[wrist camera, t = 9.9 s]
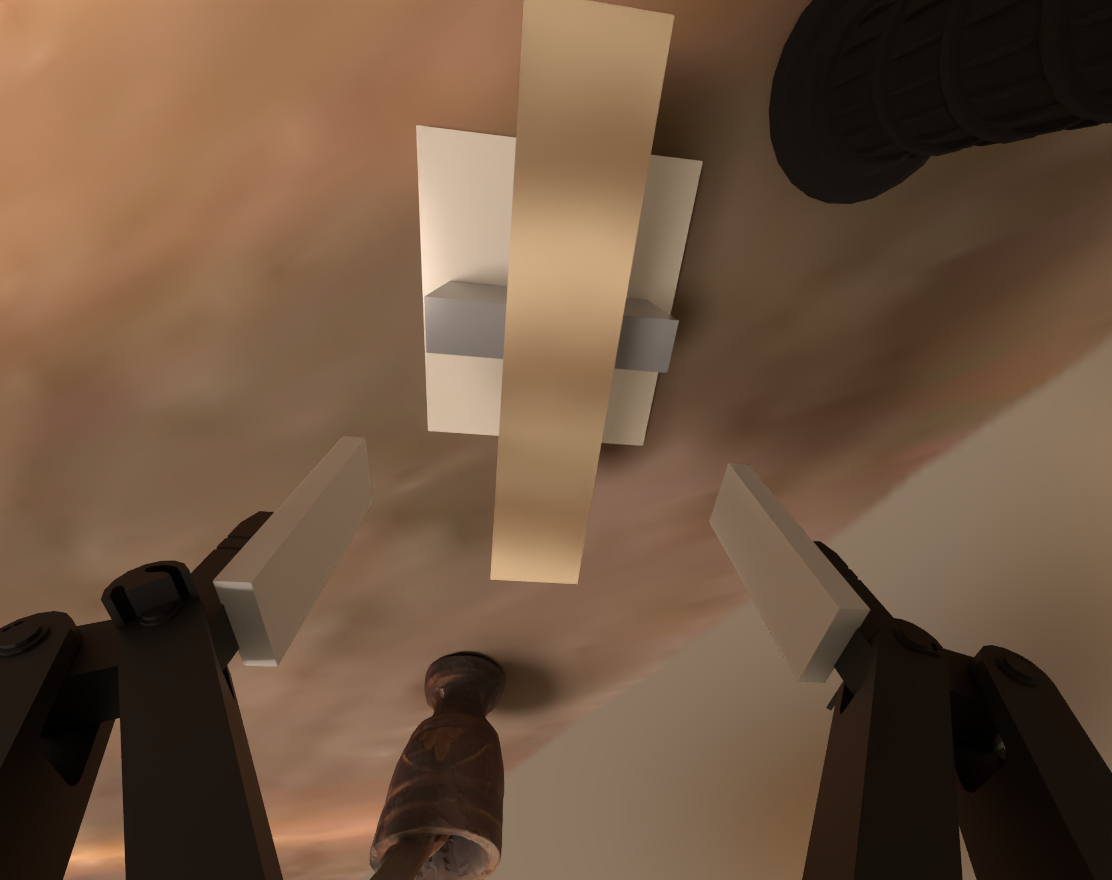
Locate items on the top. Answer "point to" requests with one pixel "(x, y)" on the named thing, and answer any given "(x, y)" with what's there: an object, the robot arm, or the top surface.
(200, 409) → the top surface
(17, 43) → the top surface
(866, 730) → the robot arm
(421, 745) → the mortar and pestle
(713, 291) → the top surface
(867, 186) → the handle grip
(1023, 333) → the top surface
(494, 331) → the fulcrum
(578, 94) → the maple bar
